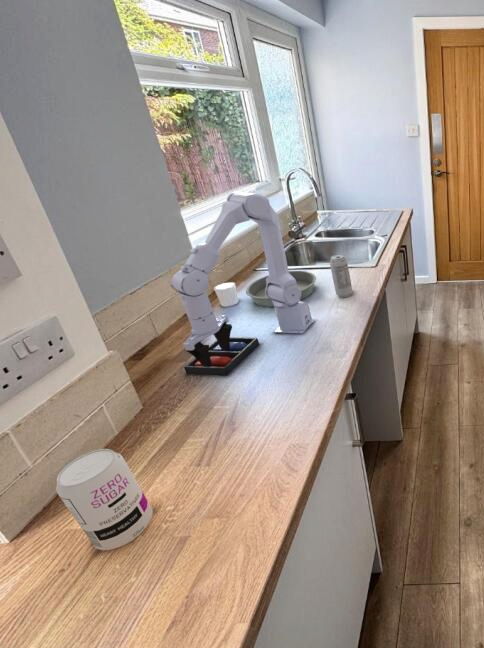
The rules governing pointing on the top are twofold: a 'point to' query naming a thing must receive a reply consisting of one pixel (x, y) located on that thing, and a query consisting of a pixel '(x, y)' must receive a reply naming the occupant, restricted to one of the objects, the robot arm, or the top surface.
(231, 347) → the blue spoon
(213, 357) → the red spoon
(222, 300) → the white cup
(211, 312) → the robot arm
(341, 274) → the grey cylinder
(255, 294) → the cake pan
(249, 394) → the top surface
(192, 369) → the black divided tray
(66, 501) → the supplement can
